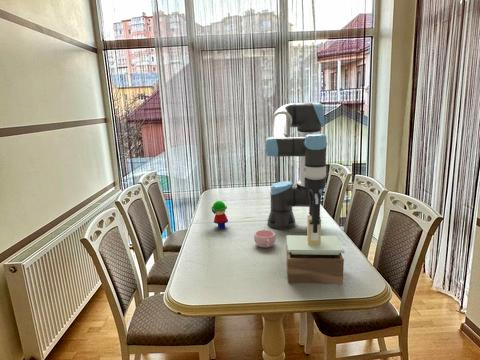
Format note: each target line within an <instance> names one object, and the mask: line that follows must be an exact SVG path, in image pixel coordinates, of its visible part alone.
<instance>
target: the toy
mask: <svg viewBox="0 0 480 360" xmlns="http://www.w3.org/2000/svg"><path fill="white" fill-rule="evenodd" d="M227 209H228V206H227V205H226V204H225V202H223V200H222V201H221V200H217V201H215V202H214V203H213V205H212V206H211V212H212V213H213V214H214V218H213V219H214V220H213V223H214V224H217V226H218V227H217V228H219V230H225V229H226V224H227V223H228V222H229V219H228V217H227V214H226V210H227Z"/></svg>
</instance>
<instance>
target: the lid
mask: <svg viewBox="0 0 480 360" xmlns="http://www.w3.org/2000/svg"><path fill="white" fill-rule="evenodd" d="M306 217H307V220H306V221H307V222H306V223H307V228H306V229H307V231H306V234H307V235H296V234H295V235H291V234H290V235H286V250H287V249H288V252H292V254H313V255H339V253H341V254H344V253H345V249H344V247H343V244H342V243H341V241H340V238H339V236H338V235H322V218H321V217H320V225H319V239H318V241H317V240H311V224H310V223H311V222H312V216H309V215H307V216H306Z"/></svg>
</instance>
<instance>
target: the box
mask: <svg viewBox="0 0 480 360" xmlns="http://www.w3.org/2000/svg"><path fill="white" fill-rule="evenodd" d="M344 262H345V259H344V257H343V253H339V255H313V254H292V252H288V249H287V248H286V277H287V283H288V284H289V283H294V284H334V285H335V284H338V285H341V284H344V268H345V267H344V265H345V263H344Z"/></svg>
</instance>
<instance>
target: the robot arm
mask: <svg viewBox="0 0 480 360" xmlns="http://www.w3.org/2000/svg"><path fill="white" fill-rule="evenodd" d="M325 123H326V121H325V112H324V106H323V104H322V103H320V102H311V101H310V102H294V103H293V102H292V103H291V102H290V103H286V104H284V105H282V106H280V107H278V108H277V109H276V110H275V111H274V112H273V114H272V116H271V124H272V132H271V136H270V137H266V139H265V155H266V156H267V157H274V158H278V157H279V158H281V157H282V158H283V157H286V158H287V157H299V179H298V180H296V184H294V183H293V182H292V181H288V180H286V181H285V180H283V181H279V182H276V183H273V184H272V185H270V192H269V194H270V212H269V215H268V218H267V226H268V227H269V228H271V229H273V230H274V229H275V230H290V229H293V228H295V226H296V223H297V222H296V218H295V214H294V212H293V207H299V208H302V207H303V208H304V207H305V208H308V209H309V211H308V214H309V215H308V216H312V222H311V223H310V224H311V240H317V241H318V239H319V225H320V218H321V202H322V197H323V189H325V188H326V185H327V184H326V181H327V180H326V177H327V146H328V141H327V135H326V134H323V133H320V132H322V128H324V127H325V125H326V124H325ZM291 128H297V129H296V131H297V132H298V133H299V136H291Z"/></svg>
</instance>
